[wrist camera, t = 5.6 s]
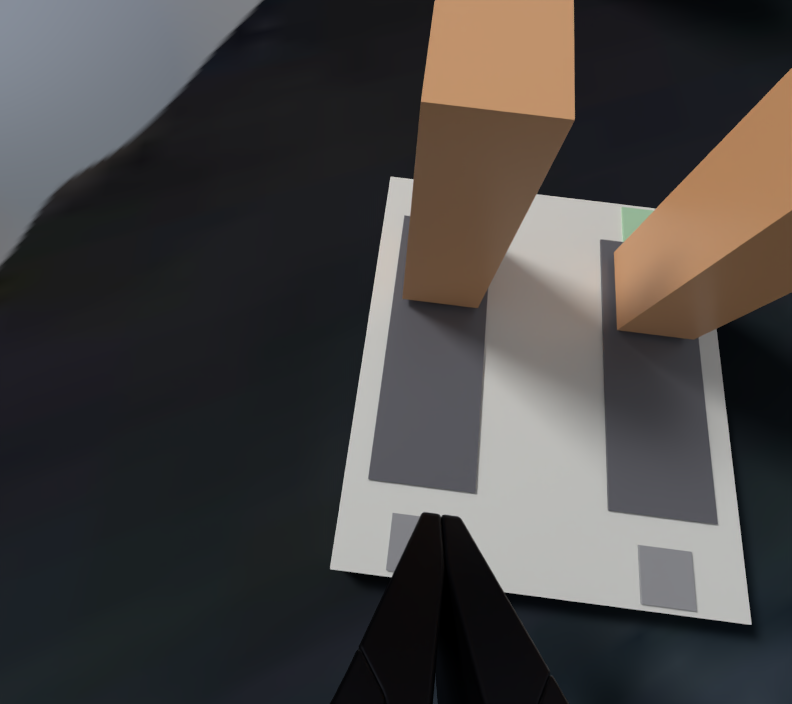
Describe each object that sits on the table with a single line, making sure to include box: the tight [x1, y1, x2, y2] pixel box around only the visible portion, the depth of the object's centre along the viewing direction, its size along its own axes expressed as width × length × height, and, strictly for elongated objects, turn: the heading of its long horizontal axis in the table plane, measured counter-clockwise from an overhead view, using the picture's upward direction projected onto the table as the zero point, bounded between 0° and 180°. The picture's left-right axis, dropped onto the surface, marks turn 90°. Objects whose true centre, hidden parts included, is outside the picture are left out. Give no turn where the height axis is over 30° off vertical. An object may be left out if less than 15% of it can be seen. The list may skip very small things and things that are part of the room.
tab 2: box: [614, 69, 792, 340], centre depth 13 cm, size 4×3×9 cm
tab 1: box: [402, 0, 575, 308], centre depth 13 cm, size 4×3×9 cm
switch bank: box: [330, 177, 752, 625], centre depth 17 cm, size 16×14×1 cm
